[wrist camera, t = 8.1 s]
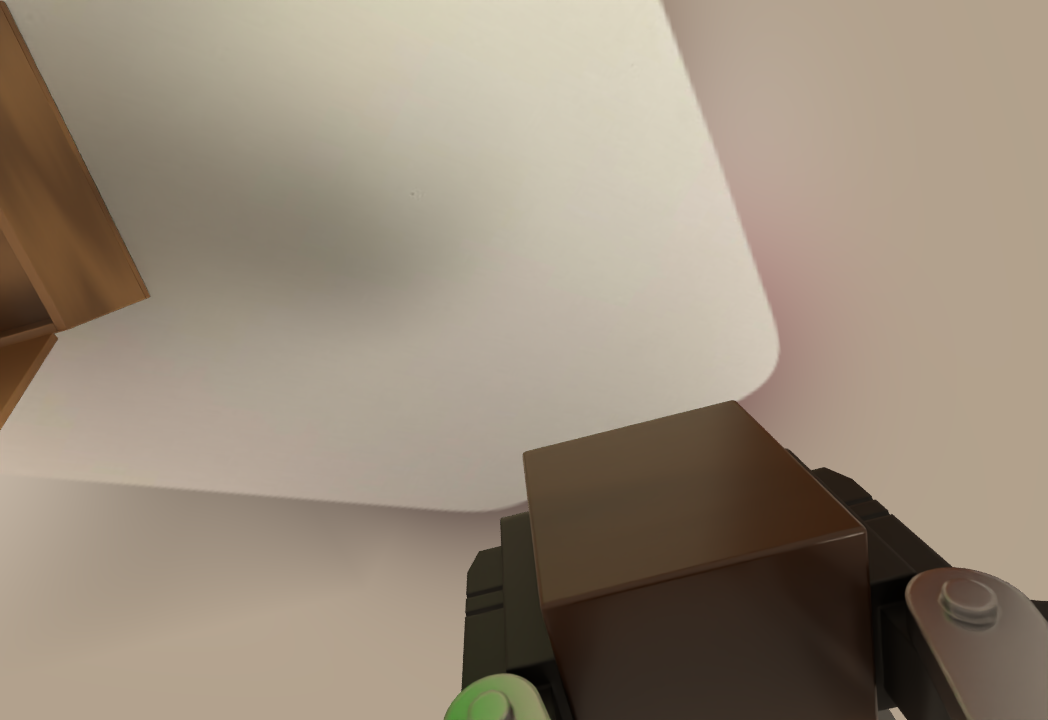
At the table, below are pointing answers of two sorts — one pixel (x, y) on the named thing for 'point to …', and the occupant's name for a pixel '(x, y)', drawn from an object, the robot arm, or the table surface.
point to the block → (699, 575)
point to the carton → (50, 214)
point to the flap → (20, 369)
